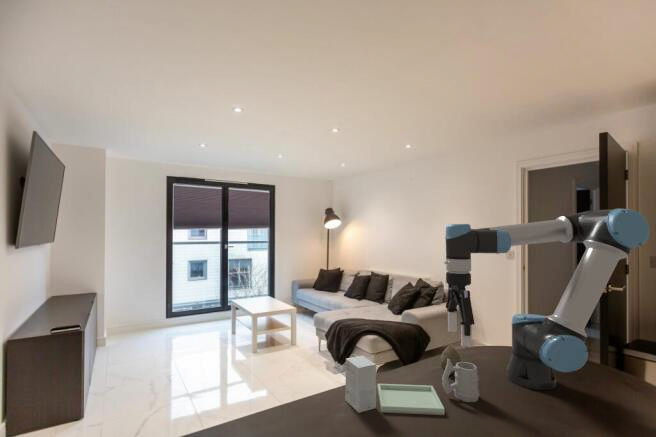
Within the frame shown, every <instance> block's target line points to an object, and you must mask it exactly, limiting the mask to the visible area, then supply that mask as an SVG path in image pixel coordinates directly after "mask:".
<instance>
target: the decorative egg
mask: <svg viewBox="0 0 656 437" xmlns="http://www.w3.org/2000/svg"><path fill="white" fill-rule="evenodd" d="M447 359H449V360H450V361H451V363H452V365H453V367H456V364H457V363H458V362H462V361H461V360H462V359H461V357H460V355H459V352H457V350H456V349H455V347H454V346H447V347H446V348H445V349H443V351H442V353H441V355H440V367H441V369H442V370H443V371H445V368H446V365H447ZM450 375H455V371H452V372H451V374H450Z"/></svg>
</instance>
